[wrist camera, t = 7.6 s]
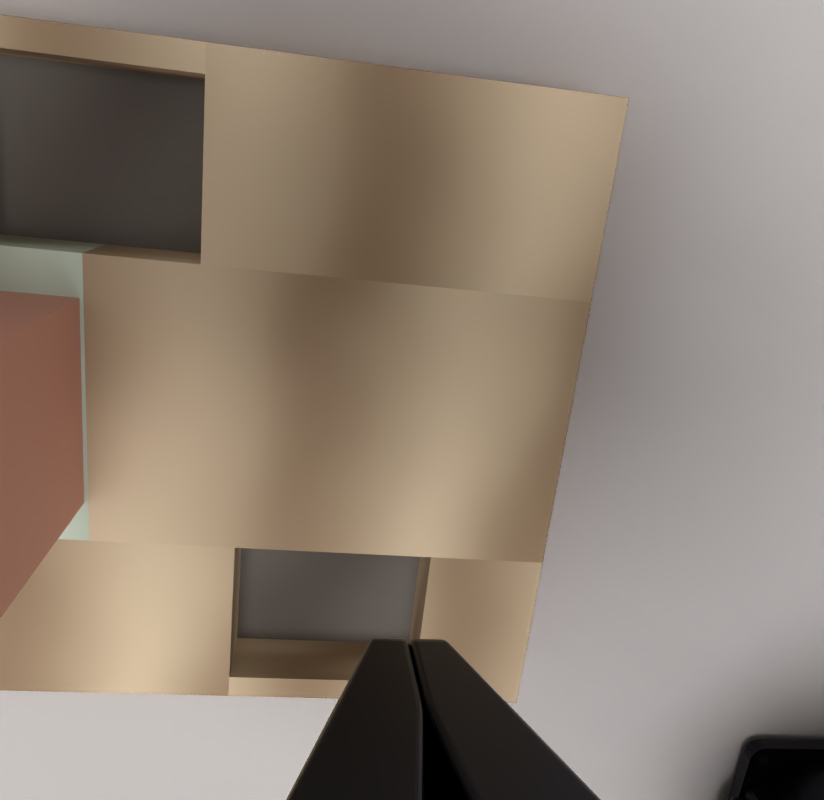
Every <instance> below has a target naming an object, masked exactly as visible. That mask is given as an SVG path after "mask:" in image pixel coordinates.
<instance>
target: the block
mask: <svg viewBox="0 0 824 800" xmlns="http://www.w3.org/2000/svg"><path fill="white" fill-rule="evenodd" d="M83 504H84V473H83V428H82V384H81V340H80V298H76V297H65V296H55V295H44V294H33V293H22V292H11V291H0V618H1V617H2V615H3V614H4V613H5V611H6V610H7V609H8V607H9V606H10V604H11V603H12V602H13V600H14V599H15V598H16V596H17V595H18V593H19V592H20V591H21V589H22V588H23V587H24V585H25V584H26V582H27V581H28V580H29V578H30V577H31V575H32V574H33V573H34V571H35V570H36V569H37V567H38V566H39V564H40V563H41V562H42V560H43V559H44V558H45V556H46V555H47V553H48V552H49V551H50V549H51V548H52V547H53V545H54V544H55V542H56V541H57V540H58V538H59V537H60V536H61V534H62V533H63V531H64V530H65V529H66V527H67V526H68V525H69V523H70V522H71V520H72V519H73V518H74V516H75V515H76V513H77V512H78V511H79V509H80V508H81V507H82V505H83Z"/></svg>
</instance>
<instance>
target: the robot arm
mask: <svg viewBox="0 0 824 800" xmlns="http://www.w3.org/2000/svg"><path fill="white" fill-rule="evenodd" d="M286 800H600V799H599V798H598V797H597V796H596V794H595V793H594V792H593V791H592V790H591V789H590V788H589V787H588V786H587V785H586V784H585V783H584V782H583V781H582V780H581V779H580V778H579V777H578V776H577V775H576V774H575V773H574V772H573V771H572V770H571V769H570V768H569V767H568V766H567V764H566V763H565V762H564V761H563V760H562V759H561V758H560V757H559V756H558V755H557V754H556V753H555V752H554V751H553V750H552V749H551V748H550V747H549V746H548V745H547V744H546V743H545V742H544V741H543V740H542V739H541V738H540V737H539V736H538V735H537V733H536V732H535V731H534V730H533V729H532V728H531V727H530V726H529V725H528V724H527V723H526V722H525V721H524V720H523V719H522V718H521V717H520V716H519V715H518V714H517V713H516V712H515V711H514V710H513V709H512V708H511V707H510V706H509V705H508V703H507V702H506V701H505V700H504V699H503V698H502V697H501V696H500V695H499V694H498V693H497V692H496V691H495V690H494V689H493V688H492V687H491V686H490V685H489V684H488V683H487V682H486V681H485V680H484V679H483V678H482V677H481V676H480V675H479V673H478V672H477V671H476V670H475V669H474V668H473V667H472V666H471V665H470V664H469V663H468V662H467V661H466V660H465V659H464V658H463V657H462V656H461V655H460V654H459V653H458V652H457V651H456V650H455V649H454V648H453V647H452V646H451V645H450V644H449V643H448V642H447V641H445V640H443V639H412V640H411V641H410V642H409V644H408V642H407V641H406V640H405V639H402V638H373V639H371V640H370V641H369V642H368V644H367V646H366V648H365V650H364V652H363V654H362V656H361V658H360V660H359V661H358V663H357V665H356V667H355V669H354V671H353V673H352V675H351V677H350V679H349V681H348V683H347V684H346V686H345V688H344V690H343V692H342V694H341V696H340V698H339V700H338V702H337V704H336V705H335V707H334V709H333V711H332V713H331V715H330V717H329V719H328V721H327V723H326V725H325V727H324V728H323V730H322V732H321V734H320V736H319V738H318V740H317V742H316V744H315V746H314V748H313V750H312V751H311V753H310V755H309V757H308V759H307V761H306V763H305V765H304V767H303V769H302V771H301V772H300V774H299V776H298V778H297V780H296V782H295V784H294V786H293V788H292V790H291V792H290V794H289V795H288V797H287V799H286ZM729 800H824V740H774V739H759V740H755V741H753V742H750V743H749V744H748V745H747V746H746V747H745V749H744V751H743V754H742V757H741V761H740V764H739V767H738V771H737V774H736V777H735V780H734V784H733V787H732V790H731V793H730V797H729Z"/></svg>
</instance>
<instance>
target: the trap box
mask: <svg viewBox="0 0 824 800" xmlns="http://www.w3.org/2000/svg"><path fill="white" fill-rule="evenodd" d="M628 101H629V98H625V97H617V96H610V95H602V94H595V93H587V92H579V91H572V90H564V89H557V88H549V87H542V86H534V85H527V84H519V83H512V82H504V81H497V80H489V79H482V78H474V77H467V76H459V75H452V74H444V73H437V72H429V71H421V70H414V69H406V68H399V67H391V66H384V65H376V64H369V63H361V62H354V61H346V60H339V59H331V58H324V57H316V56H309V55H301V54H294V53H286V52H278V51H271V50H263V49H256V48H248V47H241V46H233V45H226V44H218V43H211V42H203V41H196V40H188V39H181V38H173V37H166V36H158V35H151V34H143V33H136V32H128V31H120V30H113V29H105V28H98V27H90V26H83V25H75V24H68V23H60V22H53V21H45V20H38V19H30V18H23V17H15V16H8V15H0V291H11V292H22V293H33V294H44V295H55V296H65V297H76V298H80V340H81V384H82V428H83V473H84V504H83V505H82V507H81V508H80V509H79V511H78V512H77V513H76V515H75V516H74V518H73V519H72V520H71V522H70V523H69V525H68V526H67V527H66V529H65V530H64V531H63V533H62V534H61V536H60V537H59V538H58V540H57V541H56V542H55V544H54V545H53V547H52V548H51V549H50V551H49V552H48V553H47V555H46V556H45V558H44V559H43V560H42V562H41V563H40V564H39V566H38V567H37V569H36V570H35V571H34V573H33V574H32V575H31V577H30V578H29V580H28V581H27V582H26V584H25V585H24V587H23V588H22V589H21V591H20V592H19V593H18V595H17V596H16V598H15V599H14V600H13V602H12V603H11V604H10V606H9V607H8V609H7V610H6V611H5V613H4V614H3V615H2V617H1V618H0V690H12V691H53V692H95V693H137V694H178V695H220V696H262V697H303V698H340V696H341V694H342V692H343V690H344V688H345V686H346V684H347V683H348V681H349V679H350V677H351V675H352V673H353V671H354V669H355V667H356V665H357V663H358V661H359V660H360V658H361V656H362V654H363V652H364V650H365V648H366V646H367V644H368V642H369V641H370V640H371V639H373V638H402V639H405V640H406V641H407V642H408V644H409V642H410V641H411V640H412V639H443V640H445V641H447V642H448V643H449V644H450V645H451V646H452V647H453V648H454V649H455V650H456V651H457V652H458V653H459V654H460V655H461V656H462V657H463V658H464V659H465V660H466V661H467V662H468V663H469V664H470V665H471V666H472V667H473V668H474V669H475V670H476V671H477V672H478V673H479V675H480V676H481V677H482V678H483V679H484V680H485V681H486V682H487V683H488V684H489V685H490V686H491V687H492V688H493V689H494V690H495V691H496V692H497V693H498V694H499V695H500V696H501V697H502V698H503V699H504V700H505V701H506V702H512V703H517V698H518V693H519V687H520V682H521V676H522V671H523V666H524V660H525V655H526V649H527V644H528V639H529V633H530V628H531V623H532V617H533V612H534V606H535V601H536V596H537V590H538V585H539V580H540V574H541V569H542V563H543V558H544V553H545V547H546V542H547V536H548V531H549V526H550V520H551V515H552V510H553V504H554V499H555V493H556V488H557V483H558V477H559V472H560V467H561V461H562V456H563V450H564V445H565V440H566V434H567V429H568V423H569V418H570V413H571V407H572V402H573V397H574V391H575V386H576V380H577V375H578V370H579V364H580V359H581V354H582V348H583V343H584V337H585V332H586V327H587V321H588V316H589V310H590V305H591V300H592V294H593V289H594V284H595V278H596V273H597V267H598V262H599V257H600V251H601V246H602V241H603V235H604V230H605V224H606V219H607V214H608V208H609V203H610V197H611V192H612V187H613V181H614V176H615V171H616V165H617V160H618V154H619V149H620V144H621V138H622V133H623V127H624V122H625V117H626V111H627V106H628Z"/></svg>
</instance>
